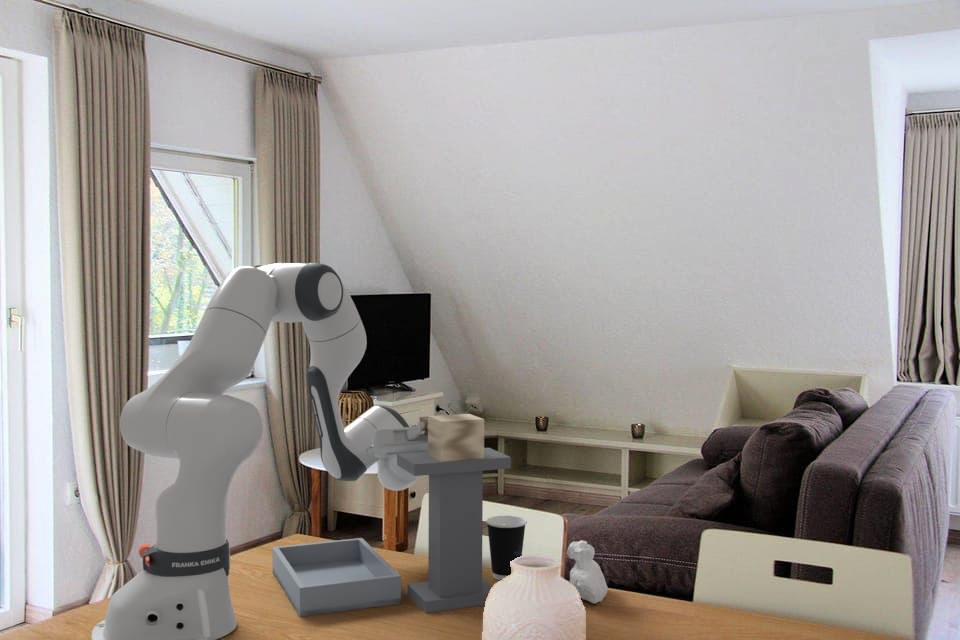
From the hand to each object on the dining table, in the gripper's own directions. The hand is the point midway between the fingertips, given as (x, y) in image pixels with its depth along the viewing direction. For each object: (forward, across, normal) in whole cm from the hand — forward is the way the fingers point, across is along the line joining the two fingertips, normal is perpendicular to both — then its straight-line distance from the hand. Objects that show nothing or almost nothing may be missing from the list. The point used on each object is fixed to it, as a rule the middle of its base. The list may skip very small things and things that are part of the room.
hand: (434, 425), depth 179 cm
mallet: (+3, 0, +6) cm, 7 cm away
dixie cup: (-13, +14, +27) cm, 33 cm away
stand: (-6, 0, +31) cm, 32 cm away
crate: (-18, -18, +24) cm, 35 cm away
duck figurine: (+1, +23, +35) cm, 42 cm away
